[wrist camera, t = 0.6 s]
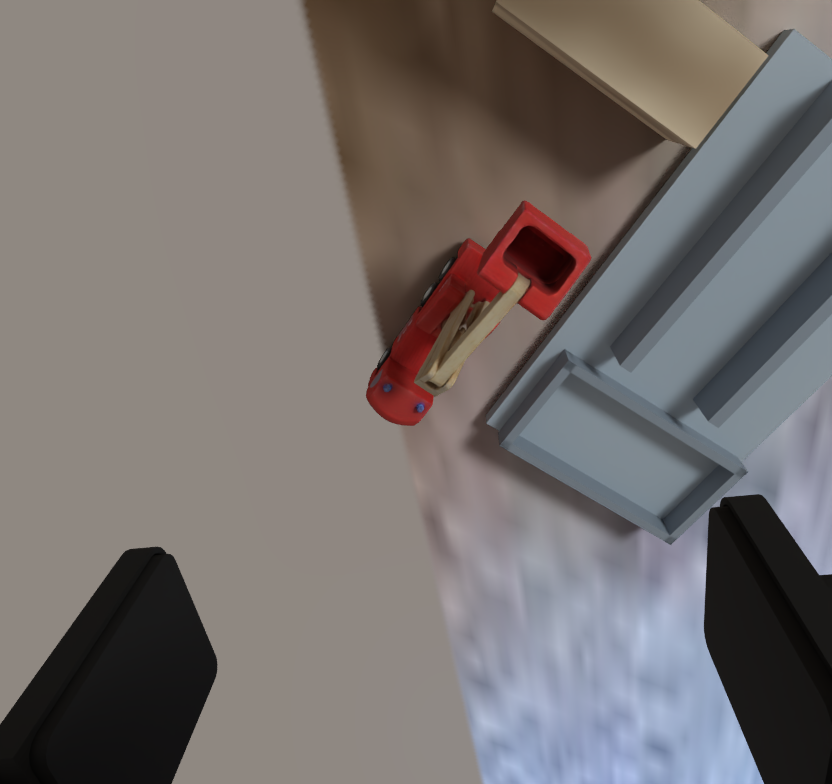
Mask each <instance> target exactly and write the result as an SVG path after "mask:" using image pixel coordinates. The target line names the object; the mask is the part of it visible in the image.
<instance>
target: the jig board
mask: <svg viewBox="0 0 832 784" xmlns="http://www.w3.org/2000/svg"><path fill="white" fill-rule="evenodd" d="M766 54H767V55H768V57H767V58H766V60H765V61H764V62H763V64H762V65H761V66H760V67H759V69H758V70H757V71H756V73H755V74H754V75H753V76H752V78H751V79H750V80H749V81H748V83H747V84H746V85H745V87H744V88H743V89H742V90H741V92H740V93H739V94H738V96H737V97H736V98H735V99H734V101H733V102H732V103H731V104H730V106H729V107H728V108H727V110H726V111H725V112H724V113H723V115H722V116H721V117H720V119H719V120H718V121H717V122H716V124H715V125H714V126H713V127H712V129H711V130H710V131H709V133H708V134H707V135H706V136H705V138H704V139H703V140H702V142H701V143H700V144H699V145H698V147H697V148H696V149H694V148H692V149H691V151H690V152H689V153H688V155H687V156H686V157H685V158H684V160H683V161H682V162H681V164H680V165H679V166H678V167H677V169H676V170H675V171H674V173H673V174H672V175H671V177H670V178H669V179H668V180H667V182H666V183H665V184H664V186H663V187H662V188H661V189H660V191H659V192H658V193H657V195H656V196H655V197H654V198H653V200H652V201H651V202H650V204H649V205H648V206H647V208H646V209H645V210H644V211H643V213H642V214H641V215H640V217H639V218H638V219H637V220H636V222H635V223H634V224H633V226H632V227H631V228H630V230H629V231H628V232H627V233H626V235H625V236H624V237H623V239H622V240H621V241H620V242H619V244H618V245H617V246H616V248H615V249H614V250H613V251H612V253H611V254H610V255H609V257H608V258H607V259H606V261H605V262H604V263H603V264H602V266H601V267H600V268H599V270H598V271H597V272H596V273H595V275H594V276H593V277H592V279H591V280H590V281H589V282H588V284H587V285H586V286H585V288H584V289H583V290H582V292H581V293H580V294H579V295H578V297H577V298H576V299H575V301H574V302H573V303H572V304H571V306H570V307H569V308H568V310H567V311H566V312H565V313H564V315H563V316H562V317H561V319H560V320H559V321H558V323H557V324H556V325H555V326H554V328H553V329H552V330H551V332H550V333H549V334H548V335H547V337H546V338H545V339H544V341H543V342H542V343H541V344H540V346H539V347H538V348H537V350H536V351H535V352H534V354H533V355H532V356H531V357H530V359H529V360H528V361H527V363H526V364H525V365H524V366H523V368H522V369H521V370H520V372H519V373H518V374H517V375H516V377H515V378H514V379H513V381H512V382H511V383H510V385H509V386H508V387H507V388H506V390H505V391H504V392H503V394H502V395H501V396H500V397H499V399H498V400H497V401H496V403H495V404H494V405H493V407H492V408H491V409H490V410H489V412H488V413H487V414H486V424H488V425H490V426H492V427H493V428H495V429H497V430H498V431H499V432H498V434H499V446H501V447H502V448H504V449H506V450H508V451H509V452H511V453H513V454H514V455H516V456H518V457H520V458H521V459H523V460H525V461H527V462H528V463H530V464H532V465H534V466H535V467H537V468H539V469H540V470H542V471H544V472H546V473H547V474H549V475H551V476H553V477H554V478H556V479H558V480H559V481H561V482H563V483H565V484H566V485H568V486H570V487H572V488H573V489H575V490H577V491H578V492H580V493H582V494H584V495H585V496H587V497H589V498H591V499H592V500H594V501H596V502H597V503H599V504H601V505H603V506H604V507H606V508H608V509H610V510H611V511H613V512H615V513H616V514H618V515H620V516H622V517H623V518H625V519H627V520H629V521H630V522H632V523H634V524H635V525H637V526H639V527H641V528H642V529H644V530H646V531H648V532H649V533H651V534H653V535H654V536H656V537H658V538H660V539H661V540H663V541H665V542H667V543H668V544H670V545H671V544H672V543H673V542H674V541H675V540H676V539H677V538H679V537H680V536H681V535H682V534H683V533H684V532H685V531H686V530H687V529H688V528H689V527H690V526H691V525H692V524H693V523H694V522H696V521H697V520H698V519H699V518H700V517H701V516H702V515H703V514H704V513H705V512H706V511H707V510H708V509H709V508H710V507H711V506H713V505H714V504H715V503H716V502H717V501H718V500H719V499H720V498H721V497H722V496H723V495H724V494H725V493H726V492H727V491H728V490H730V489H731V488H732V487H733V486H734V485H735V484H736V483H737V482H738V481H739V480H740V479H741V478H742V477H743V476H744V475H745V474H747V473H748V471H747V469H746V468H745V467H744V465H743V464H742V461H743V460H744V459H745V458H746V457H747V456H748V455H749V454H751V453H752V452H753V451H754V450H755V449H756V448H757V447H758V446H759V445H760V444H761V443H762V442H763V441H764V440H765V439H766V438H767V437H768V436H769V435H770V434H771V433H773V432H774V431H775V430H776V429H777V428H778V427H779V426H780V425H781V424H782V423H783V422H784V421H785V420H786V419H787V418H788V417H789V416H790V415H791V414H792V413H793V412H794V411H796V410H797V409H798V408H799V407H800V406H801V405H802V404H803V403H804V402H805V401H806V400H807V399H808V398H809V397H810V396H811V395H812V394H813V393H814V392H815V391H816V390H817V389H819V388H820V387H821V386H822V385H823V384H824V383H825V382H826V381H827V380H828V379H829V378H830V377H831V376H832V59H831V58H830V57H829V56H827V55H826V54H825V53H824V52H822V51H821V50H820V49H819V48H817V47H816V46H815V45H814V44H812V43H811V42H810V41H809V40H807V39H806V38H805V37H804V36H802V35H801V34H800V33H799V32H797V31H796V30H795V29H790V30H784V31H783V32H782V33H781V34H780V36H779V37H778V38H777V40H776V41H775V42H774V43H773V45H772V46H771V47H770V49H769V50H768V51H767V52H766Z"/></svg>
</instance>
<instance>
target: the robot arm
mask: <svg viewBox="0 0 832 784" xmlns="http://www.w3.org/2000/svg"><path fill="white" fill-rule="evenodd" d="M704 633H705V639H706V644H707V647H708V650H709V653H710V655H711V658H712V660H713V662H714V665H715V667H716V669H717V672H718V674H719V677H720V679H721V681H722V684H723V686H724V689H725V691H726V693H727V696H728V698H729V701H730V703H731V705H732V708H733V710H734V713H735V715H736V717H737V720H738V722H739V725H740V727H741V729H742V732H743V734H744V737H745V739H746V741H747V744H748V746H749V749H750V751H751V753H752V756H753V758H754V760H755V763H756V765H757V768H758V770H759V772H760V775H761V777H762V780H763V782H764V784H832V574H831V575H819V574H818V573H817V572H816V570H815V569H814V567H813V566H812V564H811V563H810V562H809V560H808V559H807V557H806V556H805V554H804V553H803V552H802V550H801V549H800V547H799V546H798V544H797V543H796V542H795V540H794V539H793V537H792V536H791V534H790V533H789V532H788V530H787V529H786V527H785V526H784V524H783V523H782V522H781V520H780V519H779V517H778V516H777V514H776V513H775V512H774V510H773V509H772V507H771V506H770V504H769V503H768V502H767V500H766V499H765V498H764V497H763V496H762V495H759V494H758V495H746V496H735V497H724V498H722V500H721V502H720V507H713V508H711V509H710V511H709V525H708V547H707V570H706V592H705V614H704ZM216 673H217V659H216V655H215V653H214V650H213V648H212V646H211V643H210V641H209V639H208V636H207V634H206V632H205V629H204V627H203V624H202V622H201V620H200V617H199V615H198V613H197V610H196V608H195V606H194V603H193V601H192V598H191V596H190V594H189V591H188V589H187V586H186V584H185V582H184V579H183V577H182V575H181V573H180V570H179V568H178V565H177V563H176V561H175V559H174V557H173V556H172V555H171V554H166V552H165V551H164V550H163V549H162V548H161V547H150V548H138V549H129V550H127V551H125V552H124V553H123V554H122V556H121V557H120V559H119V560H118V561H117V562H116V564H115V565H114V567H113V568H112V569H111V571H110V573H109V574H108V575H107V577H106V578H105V579H104V581H103V582H102V583H101V585H100V586H99V588H98V589H97V590H96V592H95V593H94V595H93V596H92V597H91V599H90V600H89V602H88V603H87V604H86V606H85V607H84V608H83V610H82V611H81V613H80V614H79V615H78V617H77V618H76V620H75V621H74V622H73V624H72V625H71V627H70V628H69V629H68V631H67V632H66V634H65V635H64V636H63V638H62V639H61V641H60V642H59V643H58V645H57V646H56V648H55V649H54V650H53V652H52V653H51V655H50V656H49V657H48V659H47V660H46V661H45V663H44V664H43V666H42V667H41V668H40V670H39V671H38V673H37V674H36V675H35V677H34V678H33V680H32V681H31V683H30V684H29V685H28V687H27V688H26V689H25V691H24V692H23V694H22V695H21V696H20V698H19V699H18V700H17V702H16V703H15V705H14V706H13V708H12V709H11V710H10V712H9V713H8V714H7V716H6V717H5V719H4V720H3V721H2V723H1V724H0V784H171V783H172V781H173V779H174V776H175V774H176V771H177V769H178V767H179V764H180V761H181V759H182V757H183V755H184V752H185V750H186V747H187V745H188V743H189V740H190V738H191V735H192V733H193V730H194V728H195V726H196V723H197V721H198V719H199V716H200V714H201V711H202V709H203V707H204V704H205V702H206V699H207V697H208V695H209V692H210V690H211V687H212V685H213V683H214V680H215V677H216Z"/></svg>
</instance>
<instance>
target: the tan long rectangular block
mask: <svg viewBox="0 0 832 784" xmlns="http://www.w3.org/2000/svg"><path fill="white" fill-rule="evenodd" d="M492 12H493V13H494V14H496V15H497V16H498V17H500V18H501V19H502V20H504V21H505V22H507V23H508V24H509V25H511V26H512V27H513V28H515V29H516V30H517V31H519V32H520V33H522V34H523V35H524V36H526V37H527V38H528V39H530V40H531V41H532V42H534V43H535V44H537V45H538V46H539V47H541V48H542V49H543V50H545V51H546V52H547V53H549V54H550V55H552V56H553V57H554V58H556V59H557V60H558V61H560V62H561V63H562V64H564V65H565V66H567V67H568V68H569V69H571V70H572V71H573V72H575V73H576V74H578V75H579V76H580V77H582V78H583V79H584V80H586V81H587V82H588V83H590V84H591V85H593V86H594V87H595V88H597V89H598V90H599V91H601V92H602V93H603V94H605V95H606V96H608V97H609V98H610V99H612V100H613V101H614V102H616V103H617V104H618V105H620V106H621V107H623V108H624V109H625V110H627V111H628V112H629V113H631V114H632V115H633V116H635V117H636V118H638V119H639V120H640V121H642V122H643V123H644V124H646V125H647V126H648V127H650V128H651V129H653V130H654V131H655V132H657V133H658V134H659V135H661V136H662V137H664V138H665V139H666V140H669V141H672V142H676V143H679V144H682V145H685V146H688V147H691V148H694V149H696V148H697V147H698V145H699V144H700V143H701V142H702V140H703V139H704V138H705V136H706V135H707V134H708V133H709V131H710V130H711V129H712V127H713V126H714V125H715V124H716V122H717V121H718V120H719V119H720V117H721V116H722V115H723V113H724V112H725V111H726V110H727V108H728V107H729V106H730V104H731V103H732V102H733V101H734V99H735V98H736V97H737V96H738V94H739V93H740V92H741V90H742V89H743V88H744V87H745V85H746V84H747V83H748V81H749V80H750V79H751V78H752V76H753V75H754V74H755V73H756V71H757V70H758V69H759V67H760V66H761V65H762V64H763V62H764V61H765V60H766V58H767V57H768V55H767V54H766V53H765V52H763V51H762V50H761V49H760V48H758V47H757V46H756V45H755V44H753V43H752V42H751V41H750V40H748V39H747V38H746V37H745V36H743V35H742V34H741V33H739V32H738V31H737V30H736V29H734V28H733V27H732V26H731V25H729V24H728V23H727V22H726V21H724V20H723V19H722V18H721V17H719V16H718V15H717V14H716V13H714V12H713V11H712V10H710V9H709V8H708V7H707V6H705V5H704V4H703V3H702V2H700V1H699V0H496V2H495V5H494V7H493V10H492Z"/></svg>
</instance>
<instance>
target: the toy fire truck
mask: <svg viewBox="0 0 832 784" xmlns="http://www.w3.org/2000/svg"><path fill="white" fill-rule="evenodd" d="M590 260H591V256H590V253H589V250H588V247H587V246H586V245H585V244H584V243H583V242H582V241H580V240H579V239H578V238H576V237H575V236H574V235H572V234H571V233H569V232H568V231H566V230H565V229H563V228H562V227H561V226H560V225H558V224H557V223H556V222H555V221H553V220H552V219H550V218H549V217H548V216H546V215H545V214H544V213H542V212H541V211H539V210H538V209H537V208H535V207H534V206H533V205H532V204H530V203H529V202H527V201H522V202H521V204H520V206H519V207H518V208H517V209H516V211H515V212H514V214H513V215H512V216H511V217H510V219H509V220H508V221H507V223H506V224H505V225H504V227H503V228H502V229H501V230H500V231H499V232H498V233H497V235H496V236H495V238H494V239H493V241H492V242H491V243H490V244H489V246H488V247H487V249H484V248H483V247H482V246H480V245H478V244H477V243H475V242H474V241H473V240H471V239H469V238H468V239H466V241H465V242H464V243H463V244H462V246H461V247H460V248H459V250H458V258H454V257H453V258H451V259H450V260H449V261H448V262H447V264H446V265H445V266H444V268H443V270H442V271H441V274H440V276H439V280H440V284H437V283H433V284H432V285H431V286H430V287H429V288H428V290H427V291H426V293H425V295H424V297H423V298H422V300H421V305H422V307H418V308H417V309H416V311H415V312H414V313H413V315H412V316H411V318H410V319H409V321H408V322H407V323H406V325H405V327H404V328H403V329H402V330H401V332H400V333H399V335H398V337H396V339H395V341H394V343H393V346H392V347H389V348H387V349H386V351H385V352H384V354H383V355H382V357H381V359H380V360H379V363H378V365H377V368H375V370H374V371H373V373H372V375H371V377H370V381H369V383H368V389H367V393H366V398H367V400H368V402H369V403H370V405H371V406H372V407H373V409H374V410H375V411H376V412H377V413H378V414H379V415H380V416H381V417H383V418H384V419H386V420H388V421H389V422H392V423H395V424H399V425H408V426H414V425H416V424H417V423H419V421H421V419H422V418H423V417H424V415H425V414H426V413H427V412H428V410H429V409H430V408H431V406H432V404H433V396H438V395H439V394H441V393H443V392H445V391H447V390H449V389H450V388H451V387H452V386H453V384H454V383H455V381H456V379H457V377H458V375H459V373H460V371H461V368H462V366H463V364H464V362H465V360H466V359H467V358H468V357H469V355H470V354H471V353H472V352H473V351H474V350H475V349H476V348H477V346H478V345H479V344H480V343H481V342H482V341H483V340H484V339H485V338H486V337H487V336H488V335H489V334H490V333H491V332H492V331H493V330H494V329H495V328H496V327H497V326H498V324H499V323H500V321H501V320H502V318H503V317H504V316H505V315H506V314H507V313H508V312H509V311H510V309H511V308H512V307H513V306H514V305H515V304H516V303H518V304H520V305H521V306H522V307H523V308H525V309H526V310H528V311H529V312H530V313H532V314H533V315H535V316H536V317H538V318H539V319H540V320H546V319H547V318H548V317H550V315H551V314H552V312H553V311H554V309H555V308H556V307H557V306H558V304H559V303H560V302H561V300H562V299H563V298H564V297H565V295H566V293H567V292H568V291H569V290H570V289H571V287H572V285H573V284H574V283H575V282H576V280H577V279H578V277H579V276H580V274H581V273H582V272H583V271H584V269H585V268H586V266H587V265H588V264H589V262H590Z"/></svg>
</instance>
